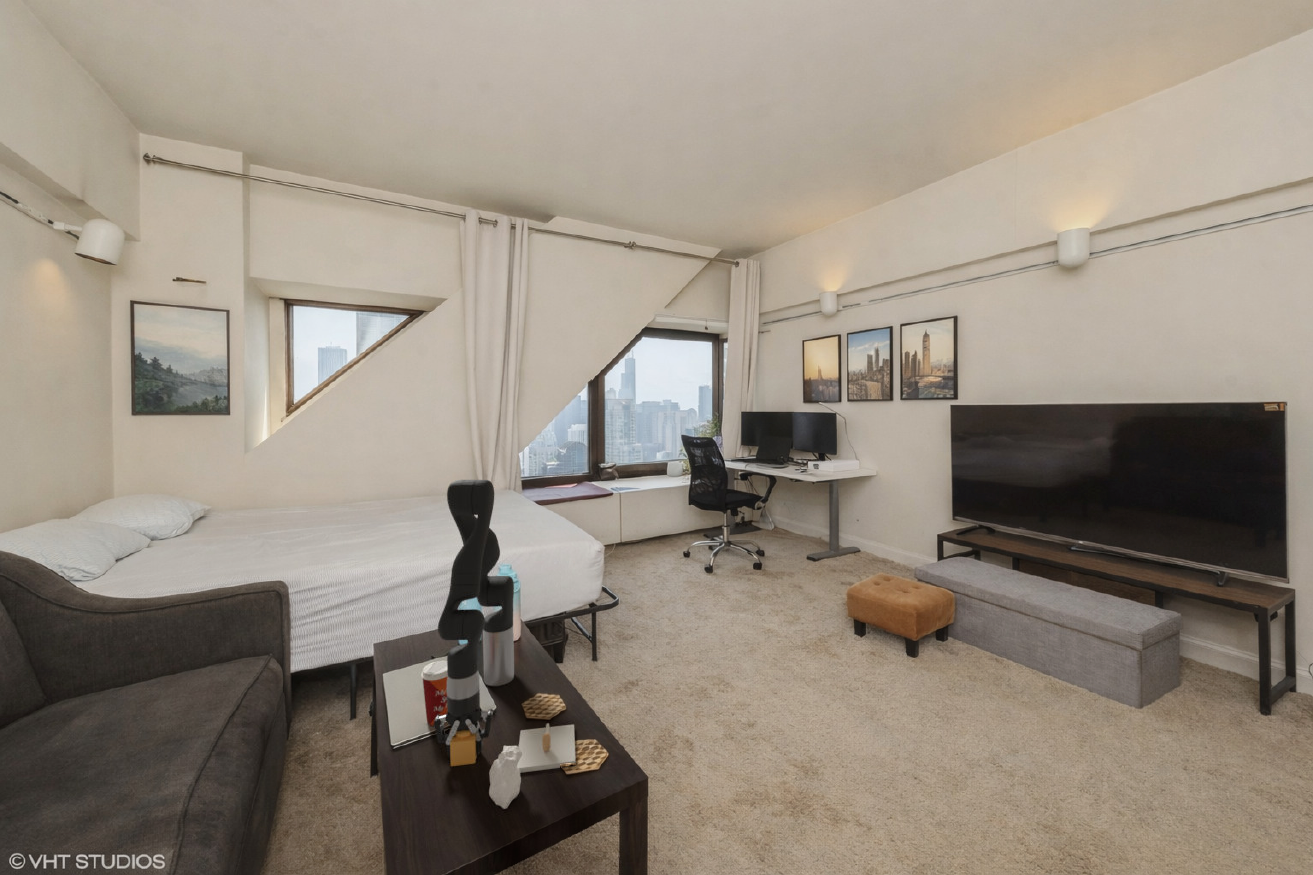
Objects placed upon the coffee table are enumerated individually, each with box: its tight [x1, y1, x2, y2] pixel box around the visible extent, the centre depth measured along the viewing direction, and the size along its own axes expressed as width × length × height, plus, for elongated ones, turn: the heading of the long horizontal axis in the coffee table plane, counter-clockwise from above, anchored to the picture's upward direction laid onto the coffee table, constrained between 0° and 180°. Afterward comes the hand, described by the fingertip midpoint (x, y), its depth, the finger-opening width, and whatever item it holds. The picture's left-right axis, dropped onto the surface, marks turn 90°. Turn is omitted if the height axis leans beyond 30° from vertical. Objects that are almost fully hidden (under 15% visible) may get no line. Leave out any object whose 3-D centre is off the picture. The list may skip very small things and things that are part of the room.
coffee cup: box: [420, 660, 448, 726], centre depth 139 cm, size 8×8×15 cm
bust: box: [488, 745, 522, 810], centre depth 113 cm, size 12×8×11 cm
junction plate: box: [517, 723, 576, 774], centre depth 127 cm, size 15×14×6 cm
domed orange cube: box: [450, 730, 478, 767], centre depth 124 cm, size 6×6×7 cm
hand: (464, 753), depth 124 cm, fingers closed on domed orange cube, 5 cm apart
